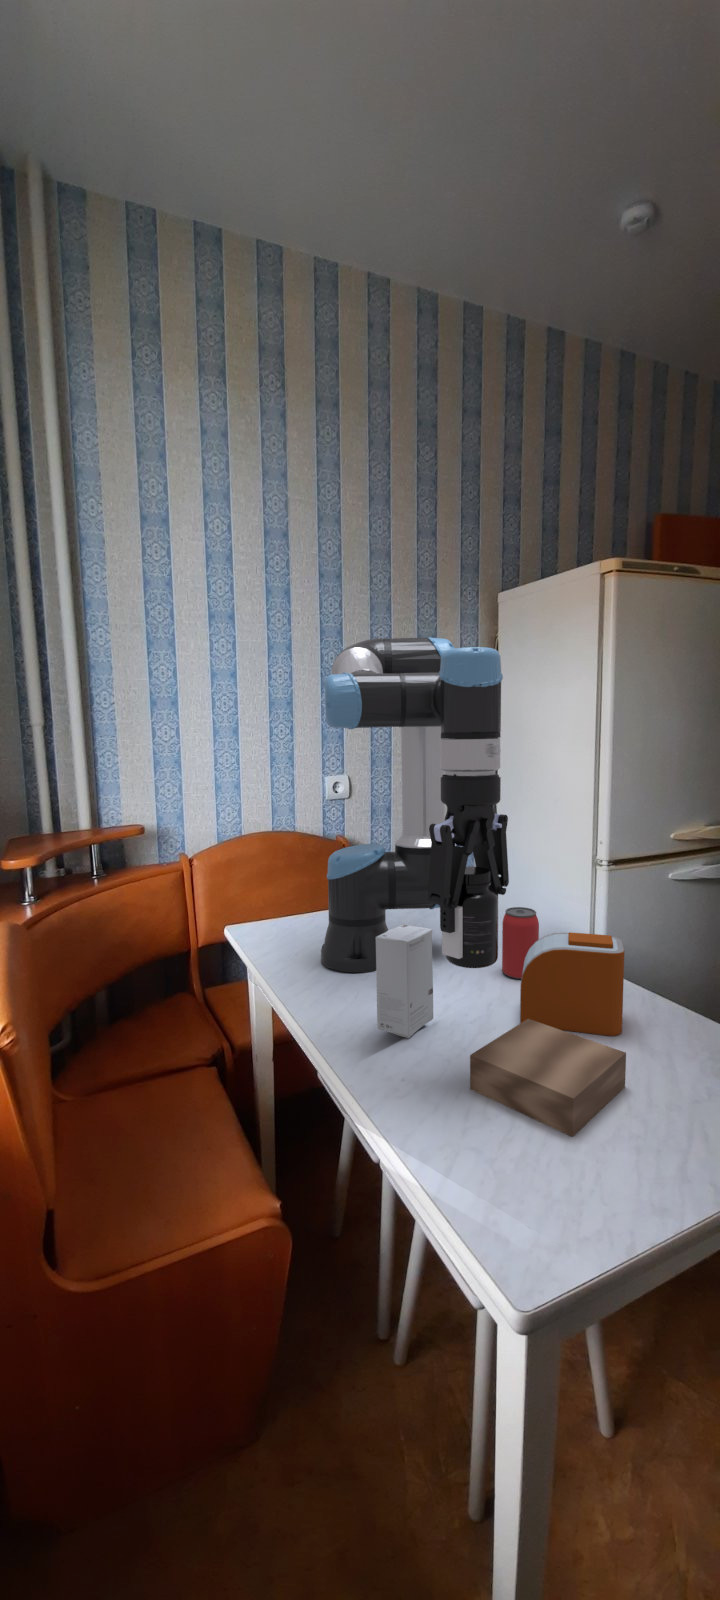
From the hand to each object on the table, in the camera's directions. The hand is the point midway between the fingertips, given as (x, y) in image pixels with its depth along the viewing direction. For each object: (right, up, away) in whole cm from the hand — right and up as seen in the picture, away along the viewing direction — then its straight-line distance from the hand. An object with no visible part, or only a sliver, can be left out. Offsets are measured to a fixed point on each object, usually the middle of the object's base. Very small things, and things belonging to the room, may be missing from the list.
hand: (470, 948), depth 84 cm
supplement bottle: (0, -2, 0) cm, 2 cm away
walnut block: (+10, -18, -2) cm, 20 cm away
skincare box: (-7, -16, +17) cm, 24 cm away
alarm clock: (+19, -15, +17) cm, 30 cm away
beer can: (+16, -13, +36) cm, 41 cm away
